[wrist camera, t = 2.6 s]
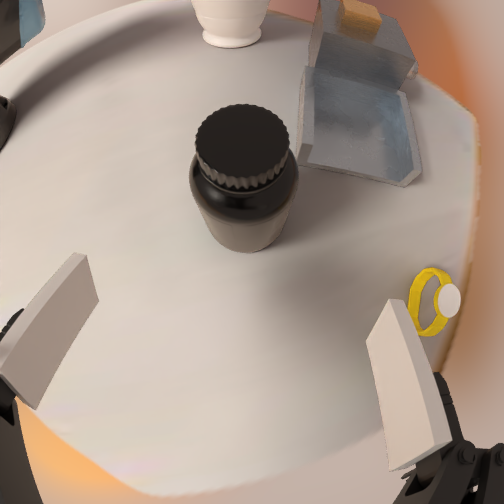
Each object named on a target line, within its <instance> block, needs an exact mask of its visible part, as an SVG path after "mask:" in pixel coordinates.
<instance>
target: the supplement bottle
mask: <svg viewBox="0 0 504 504" xmlns="http://www.w3.org/2000/svg"><path fill="white" fill-rule="evenodd" d="M289 145H290V141H289V134H288V132H287V128H286V126H285V125H284V124H283V121H282V120H281V119H279V118H278V116H277V115H275V114H273V113H272V112H271V111H270V110H266V109H265V108H263V107H258V106H256V105H249V104H243V105H242V104H236V105H229V106H227V107H224V108H221V109H220V110H218V111H215V112H213V114H212V115H210V116H208V117H207V118H206V120H204V121H203V122H202V125H201V126H200V127H199V128H198V133H197V134H196V141H195V147H196V154H195V155H194V157H193V160H192V162H191V166H190V171H189V183H190V188H191V191H192V194H193V197H194V199H195V201H196V203H197V205H198V208H199V210H200V212H201V214H202V216H203V218H204V220H205V222H206V224H207V226H208V228H209V230H210V232H211V234H212V235H213V237H214V238H215V239H216V240H217V241H218V242H219V243H220V244H221V245H223V246H224V247H226V248H228V249H230V250H233V251H236V252H242V253H249V252H255V251H259V250H261V249H263V248H265V247H267V246H269V245H270V244H271V243H272V242H273V241H274V240H275V239H276V238H277V237H278V236H279V234H280V232H281V231H282V228H283V226H284V224H285V221H286V218H287V215H288V213H289V210H290V207H291V204H292V202H293V199H294V196H295V193H296V190H297V185H298V179H299V172H298V166H297V162H296V159H295V157H294V155H293V153H292V151H291V150H290V148H289Z"/></svg>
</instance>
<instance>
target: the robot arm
mask: <svg viewBox="0 0 504 504" xmlns="http://www.w3.org/2000/svg"><path fill="white" fill-rule="evenodd" d="M44 25H45V12H44V8H43V3H42V0H0V65H1V64H2V63H3V62H4V61H5V60H6V59H8V58H9V57H10V56H11V55H12V54H14V53H15V52H16V51H17V50H18V49H20V48H23V47H24V46H25V44H26V43H27V42H29V41H30V40H31V39H32V38H34V37H35V36H36V35H37V34H39V33H40V32H41V31H42V29H43V28H44ZM15 116H16V107H15V106H14V105H13V103H12V102H11V101H10V100H9V99H7V98H5V97H3V96H0V149H1V147H2V146H3V144H4V142H5V140H6V139H7V137H8V135H9V133H10V131H11V128H12V126H13V123H14V120H15ZM98 302H99V299H98V296H97V293H96V289H95V286H94V282H93V279H92V275H91V271H90V267H89V263H88V259H87V255H84V254H78V253H73V254H72V255H71V256H70V257H69V258H68V260H67V261H66V262H65V263H64V264H63V265H62V266H61V267H60V268H59V269H58V270H57V271H56V273H55V274H54V275H53V276H52V277H51V278H50V279H49V280H48V282H47V283H46V284H45V285H44V286H43V287H42V289H41V290H40V291H39V292H38V293H37V294H36V296H35V297H34V298H33V299H32V301H31V302H30V303H29V304H28V306H27V307H26V308H25V309H23V308H22V309H21V310H19V311H18V312H17V313H15V314H14V315H13V316H12V317H11V319H10V320H9V321H8V323H7V325H6V326H5V327H4V328H3V329H2V332H1V333H0V504H43V502H42V499H41V497H40V494H39V491H38V489H37V486H36V483H35V480H34V477H33V474H32V471H31V467H30V464H29V460H28V456H27V452H26V448H25V444H24V440H23V436H22V431H21V426H20V420H19V414H18V408H17V403H16V401H15V399H14V398H15V396H17V397H18V398H19V399H20V400H21V401H22V402H23V403H25V404H26V405H28V406H29V407H31V408H33V409H34V410H36V409H37V407H38V405H39V403H40V401H41V399H42V397H43V395H44V393H45V391H46V389H47V387H48V385H49V383H50V382H51V380H52V378H53V376H54V374H55V372H56V371H57V369H58V367H59V365H60V363H61V362H62V360H63V358H64V356H65V355H66V353H67V351H68V350H69V348H70V346H71V345H72V343H73V341H74V340H75V338H76V336H77V335H78V333H79V331H80V330H81V328H82V327H83V325H84V323H85V322H86V320H87V319H88V317H89V316H90V314H91V313H92V311H93V310H94V308H95V307H96V305H97V304H98ZM366 345H367V349H368V353H369V358H370V362H371V366H372V371H373V375H374V380H375V385H376V390H377V395H378V400H379V405H380V411H381V416H382V422H383V428H384V434H385V441H386V448H387V455H388V463H389V471H396V470H400V469H405V468H408V467H410V466H412V465H413V464H415V463H416V468H415V469H414V470H411V471H410V472H408V473H406V474H404V475H403V476H402V477H401V479H404V478H407V477H409V476H410V477H409V478H408V479H407V480H406V481H407V482H406V484H405V485H404V487H403V489H402V490H401V492H400V494H399V495H398V496H397V498H396V500H395V501H394V503H393V504H504V444H503V443H498V444H496V445H495V446H494V447H492V448H491V449H480V448H475V446H474V444H472V443H471V442H470V441H466V440H464V438H463V435H462V432H461V428H460V424H459V421H458V417H457V414H456V411H455V408H454V405H453V404H452V403H453V401H452V398H451V396H450V392H449V389H448V386H447V383H446V381H445V380H444V378H443V377H442V376H441V374H440V373H439V372H434V373H432V370H431V367H430V364H429V361H428V359H427V356H426V353H425V351H424V348H423V346H422V343H421V340H420V338H419V336H418V333H417V331H416V328H415V326H414V323H413V321H412V319H411V316H410V314H409V312H408V310H407V307H406V305H405V303H404V301H403V300H398V299H388V301H387V303H386V305H385V307H384V309H383V311H382V312H381V314H380V316H379V318H378V320H377V322H376V324H375V325H374V327H373V329H372V331H371V333H370V334H369V336H368V338H367V340H366ZM476 485H478V489H477V491H476V492H473V487H474V486H476Z"/></svg>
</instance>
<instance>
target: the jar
mask: <svg viewBox="0 0 504 504" xmlns="http://www.w3.org/2000/svg"><path fill="white" fill-rule="evenodd" d="M191 2H192V5H193V7H194V9H195V13H196V16H197V19H198V21H199V23H200V24H201V26H202V27H203V28H204V31H203V39H204V40H205V41H206V42H207V43H209V44H211V45H213V46H217V47H223V48H237V47H243V46H247V45H250V44H252V43H254V42H256V41H257V40H258V39H259V38H260V37H261V29H260V27H259V26H260V25H261V24H262V22H263V20H264V18H265V16H266V12H267V8H268V5H269V2H270V0H191Z"/></svg>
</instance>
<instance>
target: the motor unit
mask: <svg viewBox="0 0 504 504" xmlns="http://www.w3.org/2000/svg"><path fill="white" fill-rule="evenodd" d="M417 72H418V62H417V61H416V60H415V57H414V55H413V53H412V50H411V48H410V46H409V44H408V42H407V40H406V38H405V36H404V34H403V32H402V30H401V28H400V26H399V24H398V22H397V20H396V19H394V18H391V17H389V16H386V15H384V14H381V13H378V11H377V9H376V7H375V6H372V5H369V4H366V3H362V2H359V1H356V0H340V1H336V0H319V3H318V7H317V12H316V16H315V21H314V26H313V30H312V35H311V39H310V44H309V66H305V69H304V73H303V78H302V82H301V86H300V99H299V116H298V131H297V146H296V162H297V165H301V166H307V167H313V168H318V169H324V170H329V171H334V172H339V173H344V174H349V175H354V176H358V177H363V178H367V179H372V180H376V181H380V182H384V183H388V184H392V185H396V186H400V187H405V186H407V185H408V184H409V183H410V182H411V181H412V180H413V179H415V178H416V177H417V176H418V175H419V174H420V173H421V172H422V167H421V161H420V155H419V149H418V144H417V139H416V134H415V129H414V125H413V121H412V116H411V112H410V108H409V104H408V101H407V97H406V93H405V92H402V91H399V90H398V89H399V88H400V86H401V84H402V83H403V81H404V80H405V78H409V79H414V78H415V76H416V74H417Z"/></svg>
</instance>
